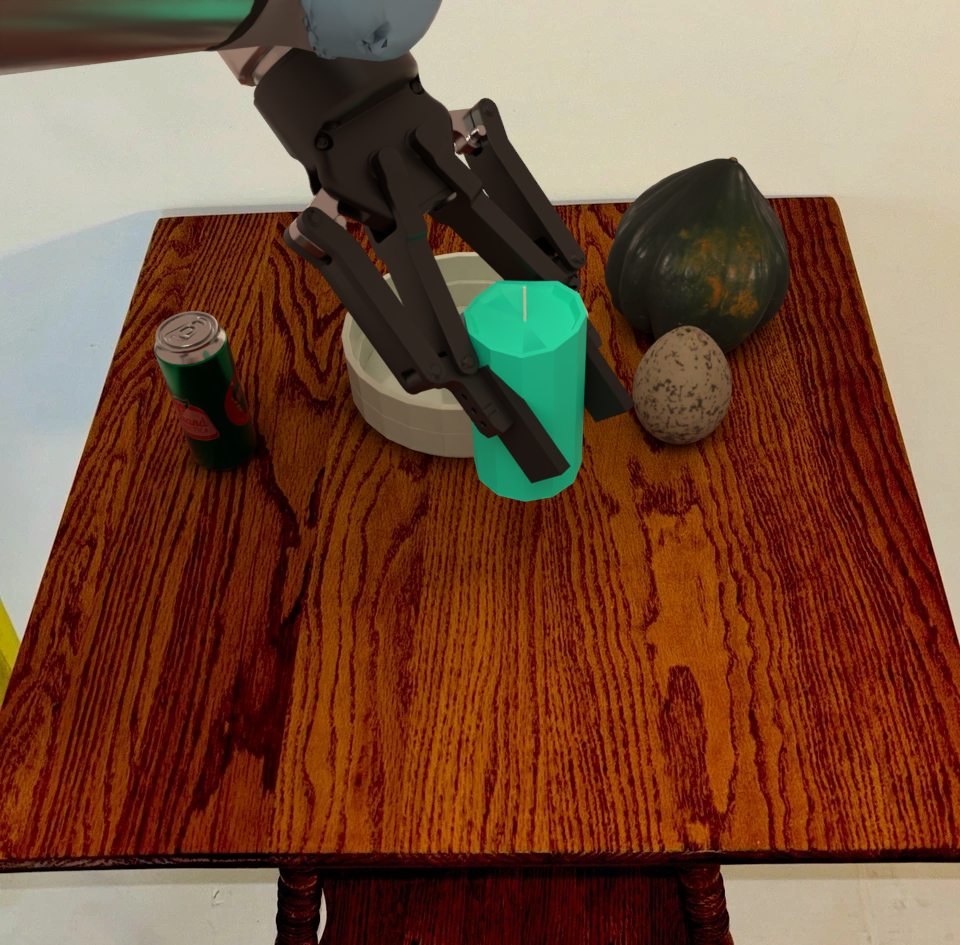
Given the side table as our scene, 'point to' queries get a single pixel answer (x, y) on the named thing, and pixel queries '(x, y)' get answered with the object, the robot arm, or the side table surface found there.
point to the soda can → (205, 390)
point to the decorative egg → (682, 386)
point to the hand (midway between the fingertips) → (583, 442)
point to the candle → (532, 374)
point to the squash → (700, 256)
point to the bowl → (427, 415)
